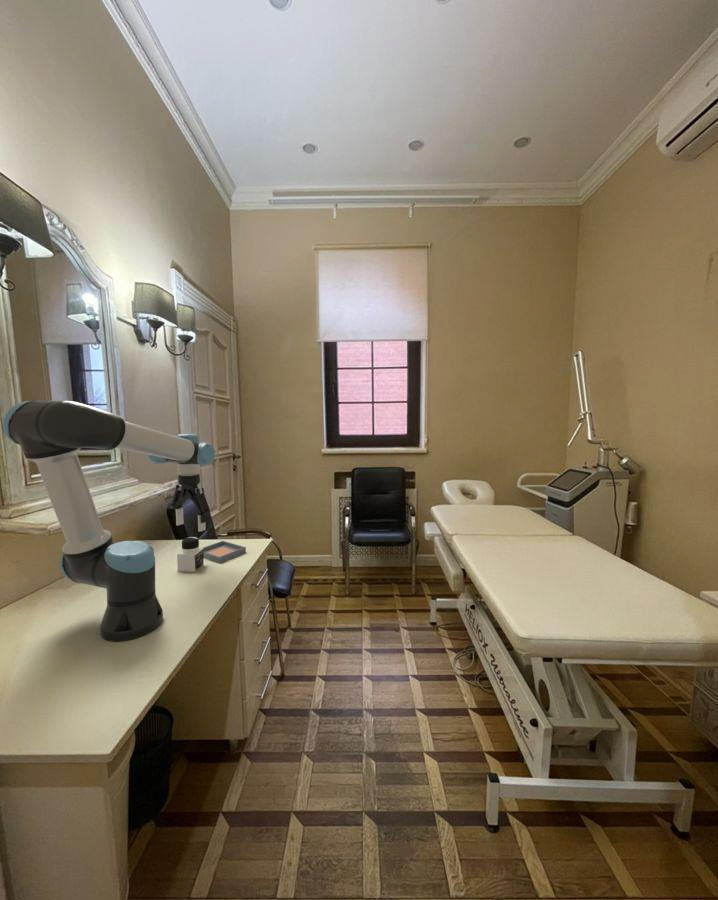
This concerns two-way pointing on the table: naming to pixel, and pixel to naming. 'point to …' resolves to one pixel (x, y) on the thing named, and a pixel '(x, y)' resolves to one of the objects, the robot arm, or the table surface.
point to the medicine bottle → (190, 555)
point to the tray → (222, 551)
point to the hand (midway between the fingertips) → (190, 527)
